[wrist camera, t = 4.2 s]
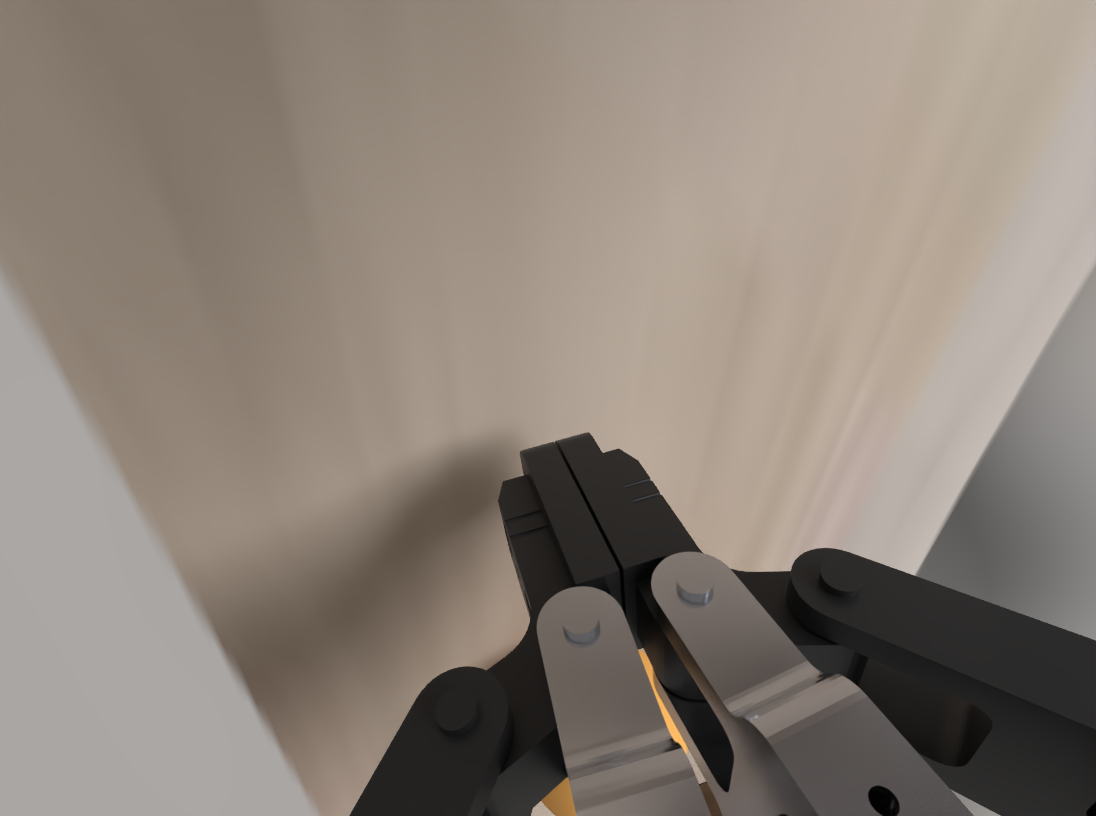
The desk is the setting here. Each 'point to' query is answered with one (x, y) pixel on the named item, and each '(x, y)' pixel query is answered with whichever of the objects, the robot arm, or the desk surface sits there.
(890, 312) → the desk surface
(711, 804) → the post
